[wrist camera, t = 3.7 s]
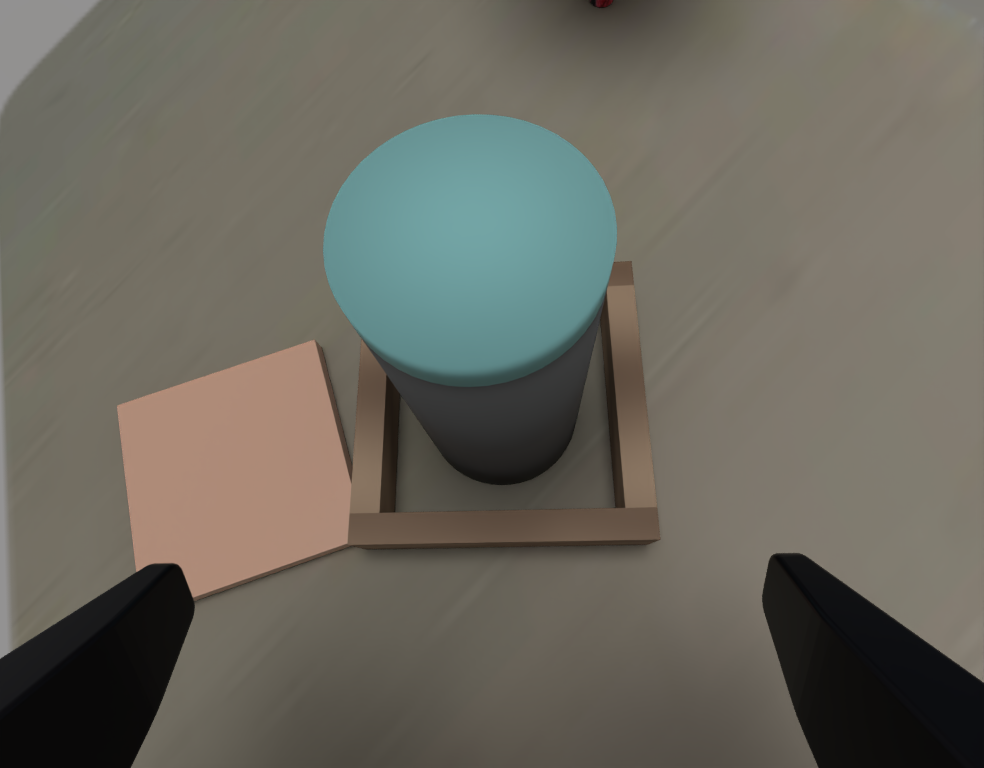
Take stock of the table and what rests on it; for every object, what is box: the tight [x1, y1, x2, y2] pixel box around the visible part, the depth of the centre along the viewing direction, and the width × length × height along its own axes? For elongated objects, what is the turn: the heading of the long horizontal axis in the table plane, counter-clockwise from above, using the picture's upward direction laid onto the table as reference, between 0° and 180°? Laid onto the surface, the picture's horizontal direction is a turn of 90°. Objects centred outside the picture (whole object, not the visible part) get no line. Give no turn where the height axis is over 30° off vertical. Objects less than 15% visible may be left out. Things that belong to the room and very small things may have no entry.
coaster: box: [117, 340, 353, 601], centre depth 22 cm, size 8×8×1 cm
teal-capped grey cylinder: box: [323, 114, 617, 485], centre depth 17 cm, size 6×6×12 cm
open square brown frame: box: [347, 261, 660, 549], centre depth 21 cm, size 10×10×2 cm
